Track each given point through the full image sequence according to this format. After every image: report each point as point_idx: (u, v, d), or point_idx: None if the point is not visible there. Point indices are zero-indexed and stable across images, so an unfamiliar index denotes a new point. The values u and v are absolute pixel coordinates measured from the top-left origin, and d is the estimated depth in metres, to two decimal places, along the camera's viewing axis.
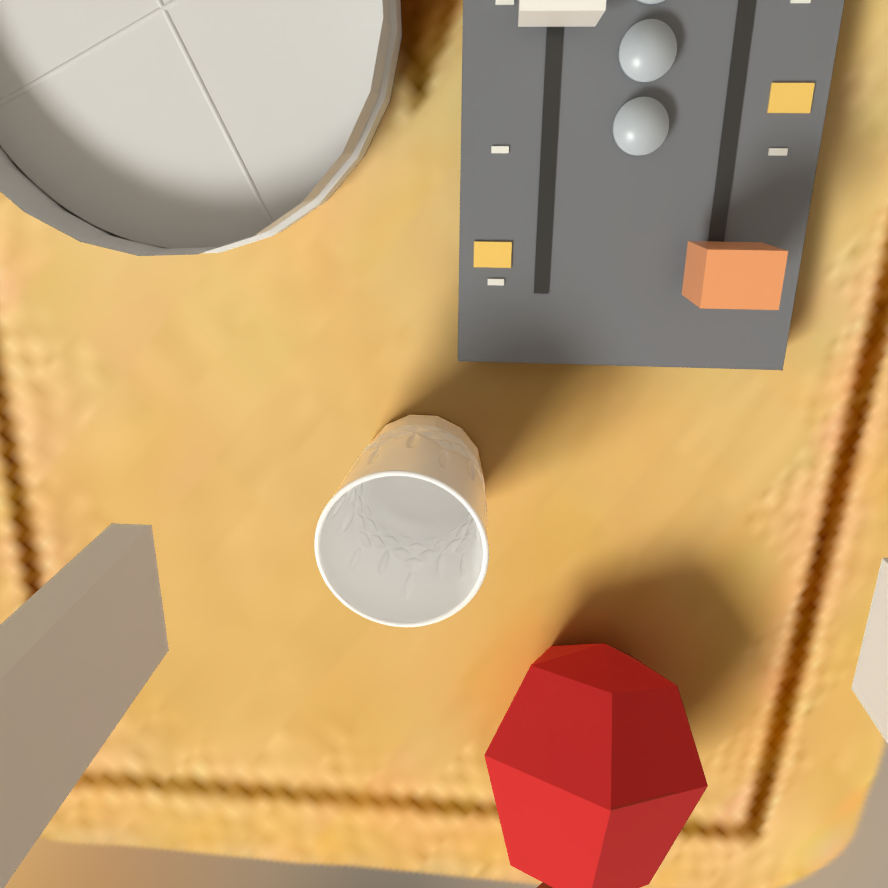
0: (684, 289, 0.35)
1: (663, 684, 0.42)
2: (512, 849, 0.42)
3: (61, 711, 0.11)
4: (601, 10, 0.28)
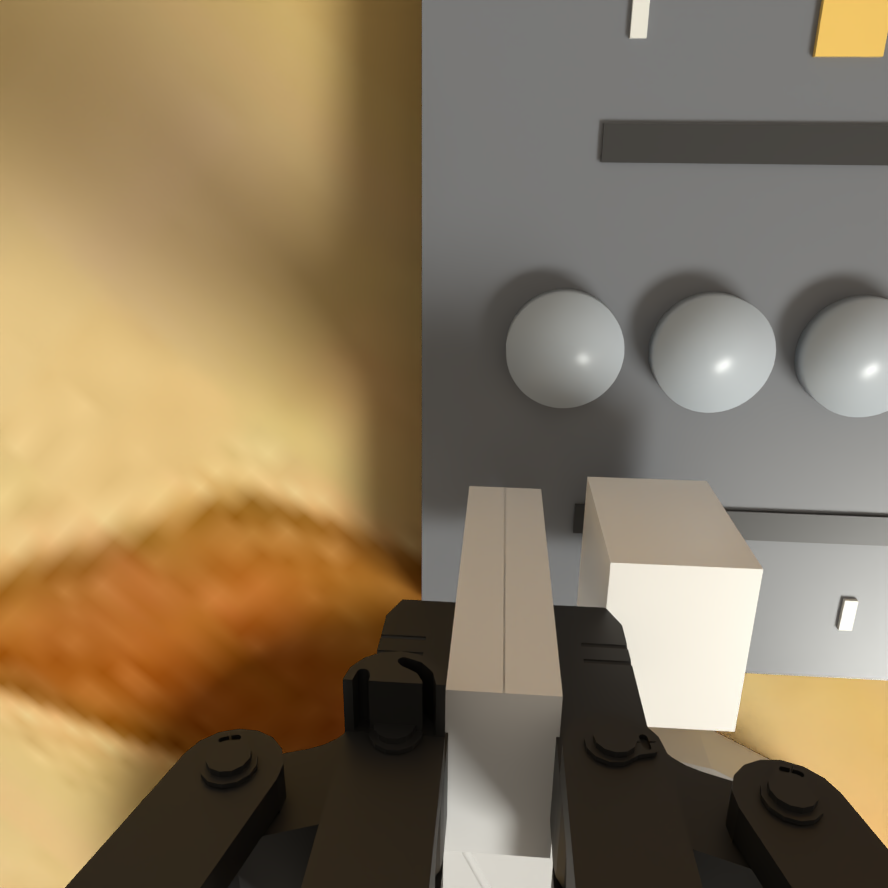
0: None
1: None
2: None
3: None
4: (760, 575, 0.12)
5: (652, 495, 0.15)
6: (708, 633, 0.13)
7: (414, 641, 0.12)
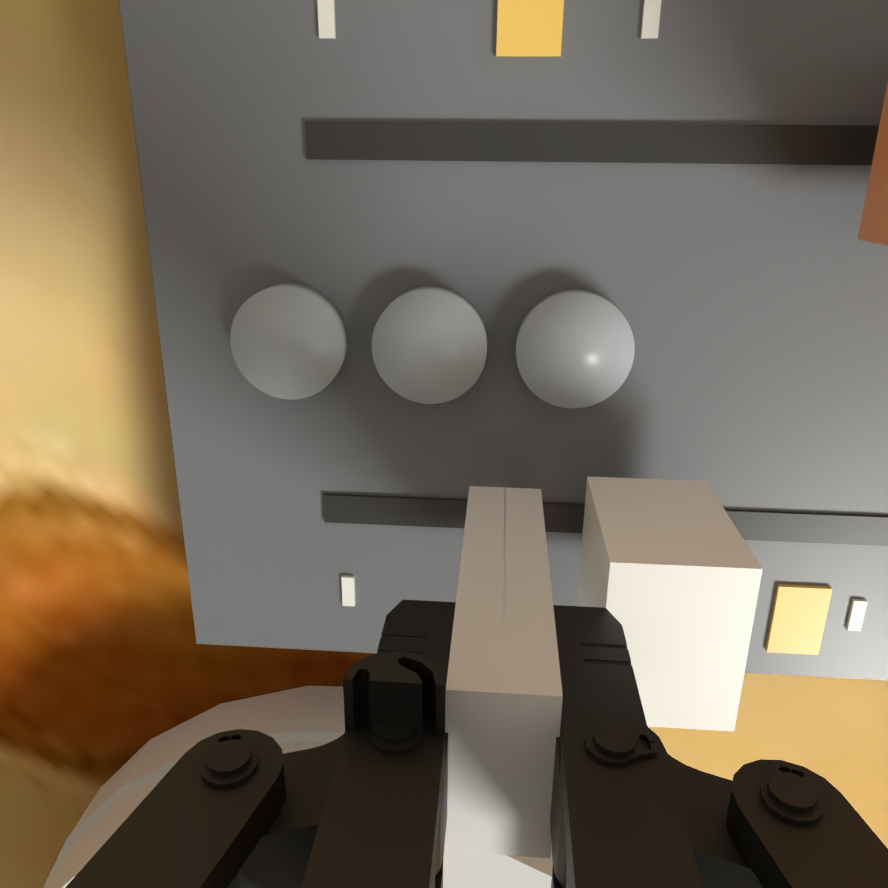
0: None
1: None
2: None
3: None
4: (760, 575, 0.12)
5: (652, 495, 0.15)
6: (708, 632, 0.13)
7: (414, 641, 0.12)
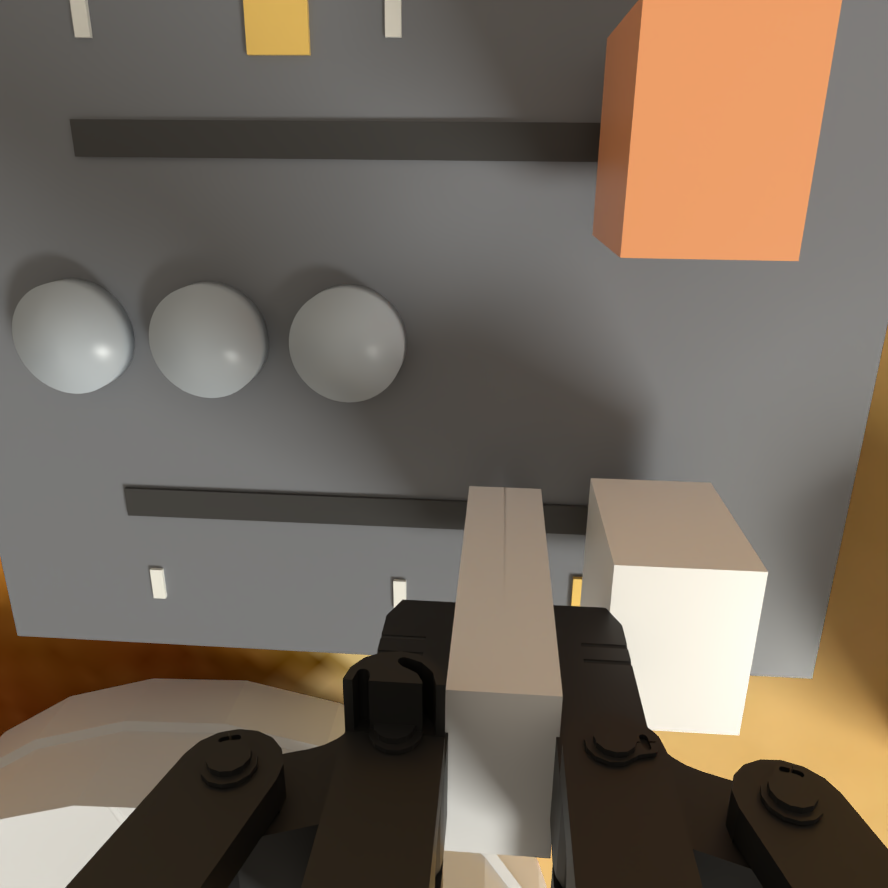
0: None
1: None
2: None
3: None
4: (765, 578, 0.12)
5: (656, 497, 0.15)
6: (712, 636, 0.13)
7: (414, 641, 0.12)
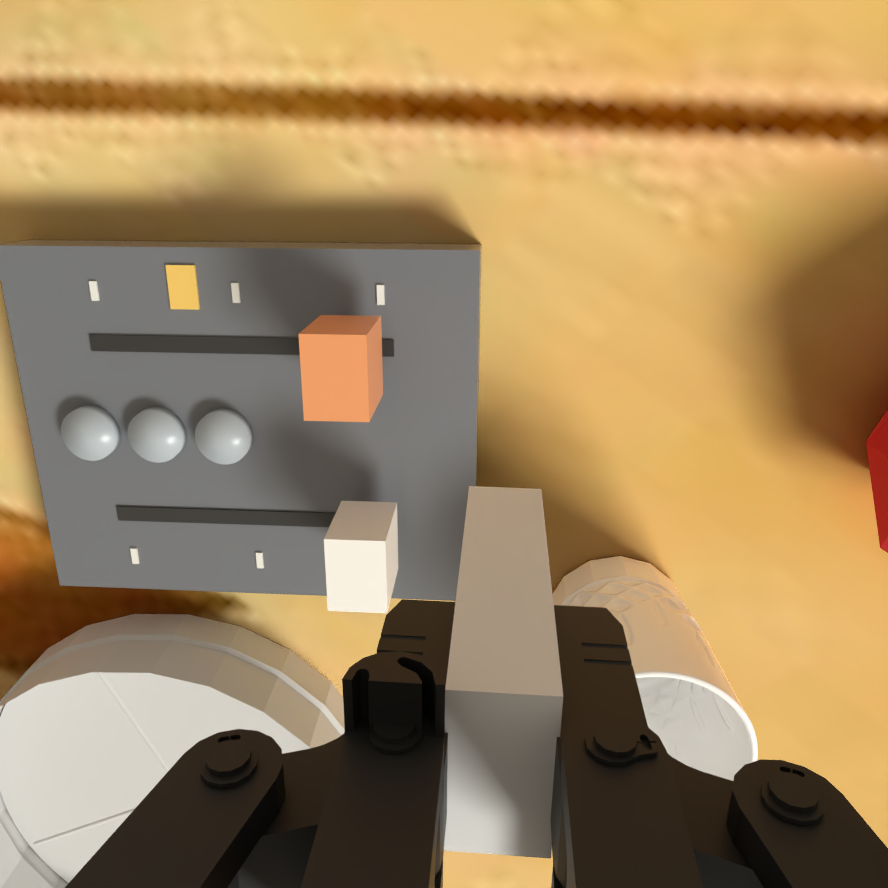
0: None
1: None
2: None
3: None
4: (385, 543, 0.29)
5: (365, 509, 0.32)
6: (368, 568, 0.30)
7: (413, 641, 0.12)
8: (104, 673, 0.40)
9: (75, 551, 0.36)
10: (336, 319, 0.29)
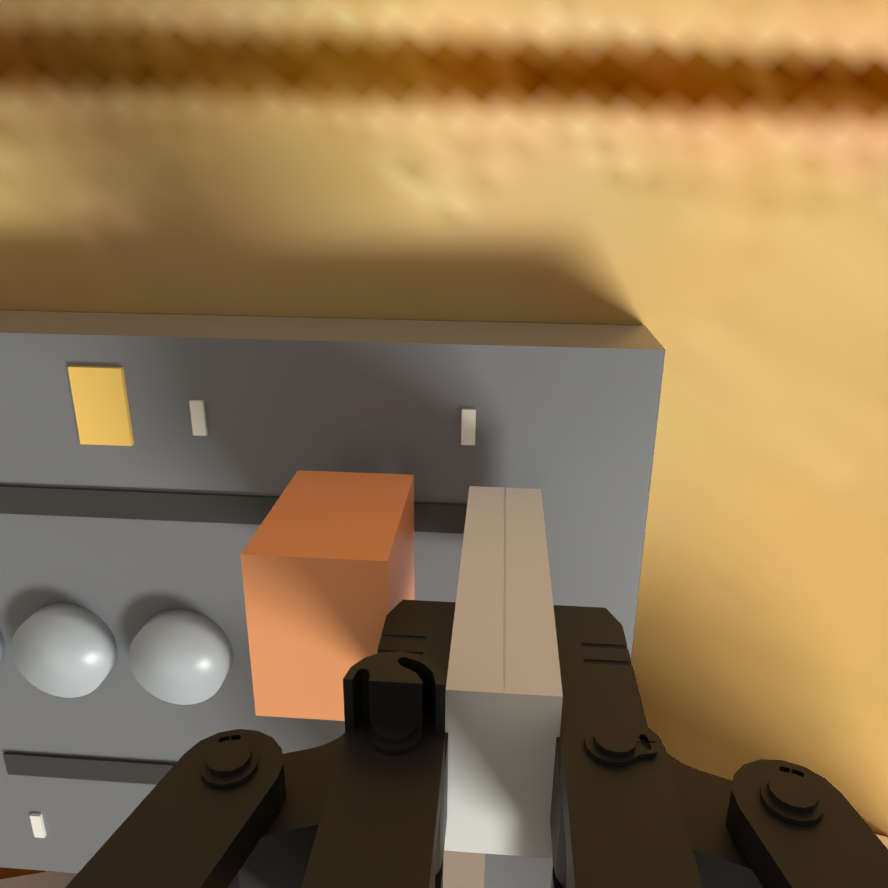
0: None
1: None
2: None
3: None
4: None
5: None
6: None
7: (414, 641, 0.12)
8: None
9: None
10: (326, 488, 0.15)
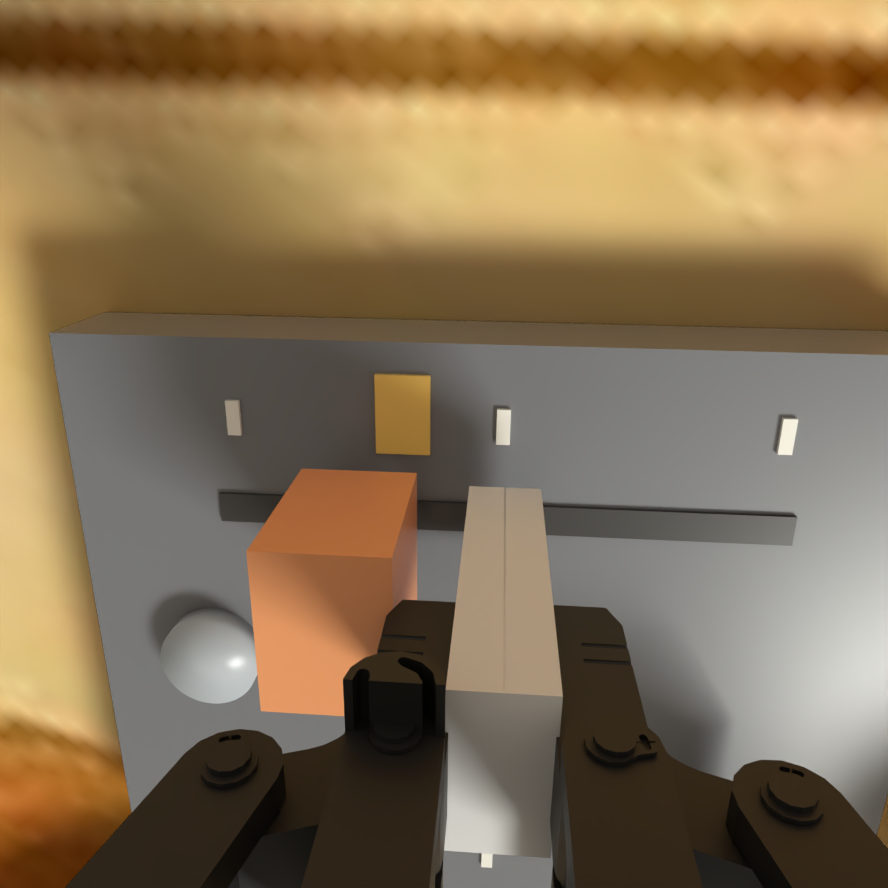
0: None
1: None
2: None
3: None
4: None
5: None
6: None
7: (414, 641, 0.12)
8: None
9: None
10: (330, 486, 0.15)
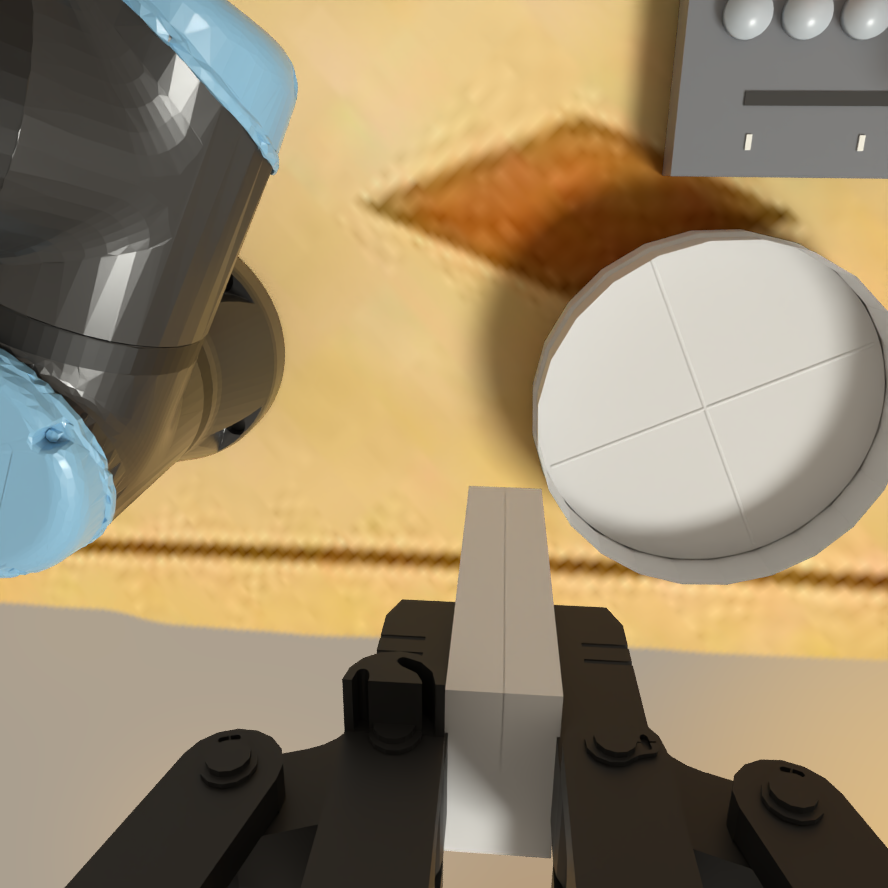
0: None
1: None
2: None
3: None
4: None
5: None
6: None
7: (413, 641, 0.12)
8: (664, 282, 0.46)
9: (694, 140, 0.42)
10: None
